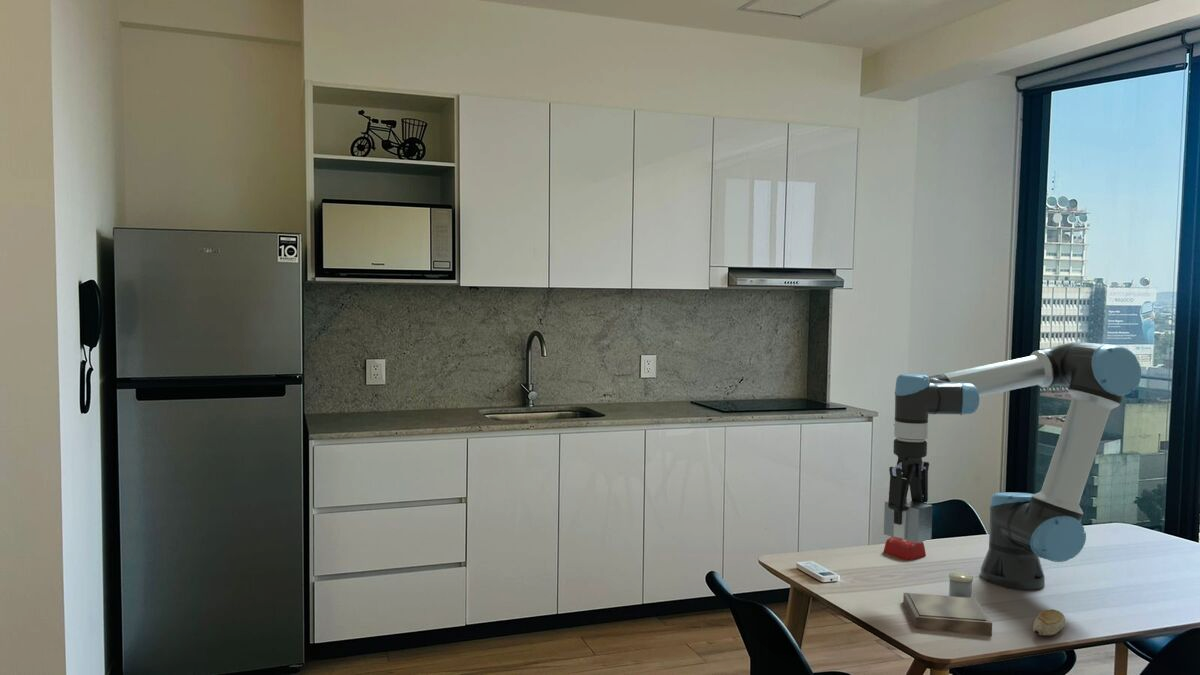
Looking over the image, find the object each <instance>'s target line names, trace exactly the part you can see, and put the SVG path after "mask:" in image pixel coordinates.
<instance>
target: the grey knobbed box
mask: <svg viewBox="0 0 1200 675" xmlns="http://www.w3.org/2000/svg"><path fill="white" fill-rule="evenodd" d="M888 501H889V500H885V501H884V510H883V511H884V513H883V514H884V516H883V535H885V536H889V537H894V536H893V535H894V510H893V509H890V508H889V507H888ZM924 503H925V502H924ZM924 503H919V502H914V501H912V500H911V499H909V500H908V497H907V498H906V503H905V508H904V511H906V535H905V539H904V540H908V541H912V542H916V543H919V542H922V541H923V542H924V541H928V540H931V539H932V538H933V537H932V531H933V505H932V504H928V503H927V504H924ZM896 538H898V537H896ZM900 539H902V538H900Z"/></svg>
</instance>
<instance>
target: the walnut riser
mask: <svg viewBox="0 0 1200 675" xmlns="http://www.w3.org/2000/svg"><path fill="white" fill-rule="evenodd" d="M902 600H903V605H904V607H905V609H906V611H907V613H908V615H909V619H910V620H911V622H912V624H913V627H914V629H918V630H925V631H926V630H928V631H937V632H947V633H957V634H968V635H978V636H988V637H992V635H993V622H992V621H991V619H990V617H989V616H988V614H987V613H986V612H985V611H984V609H983V608H982V606H981V605H980V603H979V602H978V600H976V597H972V596H971V597H957V596H949V595H942V594H927V593H915V592H914V593H911V592H903V599H902Z"/></svg>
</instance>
